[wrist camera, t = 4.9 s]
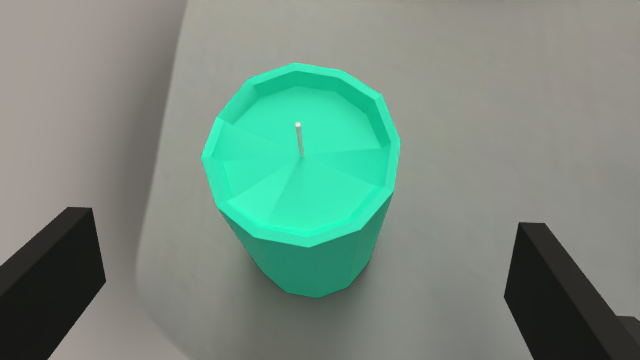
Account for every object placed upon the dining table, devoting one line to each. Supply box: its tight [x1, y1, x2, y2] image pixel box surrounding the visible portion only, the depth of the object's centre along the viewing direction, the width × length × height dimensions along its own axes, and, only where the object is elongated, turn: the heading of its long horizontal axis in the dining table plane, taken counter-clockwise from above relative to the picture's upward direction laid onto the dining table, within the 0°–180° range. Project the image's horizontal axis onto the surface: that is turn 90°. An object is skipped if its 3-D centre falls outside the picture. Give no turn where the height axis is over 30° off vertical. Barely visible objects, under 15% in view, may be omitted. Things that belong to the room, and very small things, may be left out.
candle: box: [201, 63, 401, 298], centre depth 19 cm, size 6×6×12 cm
